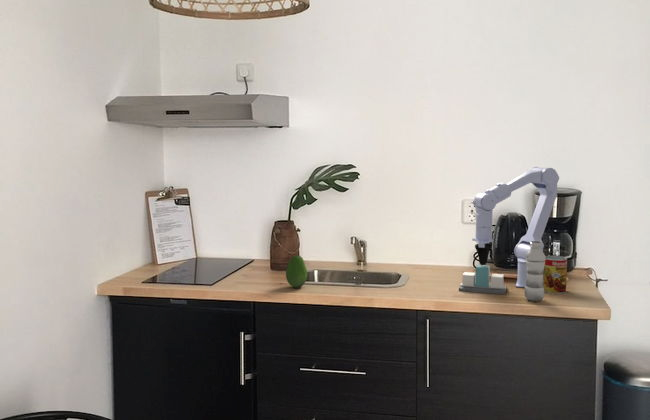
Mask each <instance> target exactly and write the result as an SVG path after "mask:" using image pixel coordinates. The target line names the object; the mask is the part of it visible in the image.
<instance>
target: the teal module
mask: <svg viewBox="0 0 650 420" xmlns="http://www.w3.org/2000/svg"><path fill="white" fill-rule="evenodd" d="M490 268H491V265H480V264H477V265H476V267H475V286H478V287H489V284H490V283H491V276H490V273H491V272H490V270H491V269H490Z"/></svg>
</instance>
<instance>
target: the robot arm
mask: <svg viewBox="0 0 650 420" xmlns="http://www.w3.org/2000/svg"><path fill="white" fill-rule="evenodd" d="M559 180H560V176H559V174H558V172H557V170H556V169H555V168H553V167H539V166H534V167H532V168H530V169H527V170H526V171H525V172H524V173H522V174H520V175H519V176H517V177H515V178H514V179H512V180H511V181H509V182H508V183H505V182H497V183H496V184H495V186H493V187H491V188H490V189H489V188H488V189H486V190H485V191H484V193H483V192H479V193H477V194H476V195H475V196H474V199H473V200H472V204H473V206H474V208H475V237H472V239H471V241H473V242H476V244H475V245H474V248H475V250H476V252H477V253H476V254H477V257H478V262H479V265H485V266H487V263H488V260H489V255H490V250H491V248H492V247H493V242H494V241H493V216H494V215H493V211H494V210H495V208H496V206H497V204H500V203H501V202H503V201H505V200H506V199H508V198H510V197H511V195H512V192H514V191H516V190H519V189H520V188H523V187H524V186H527V185H529V184H532V185H533V186H534V187H535V188H536V189H537V190H538V193H539V197H538V200H537V203H536V207H535V209H534V212H533V215H532V218H531V220H530V223H529V224H528V225H529V226H528V229H527V231H526V234H525V235H523V236H521V238H520V239H519V242H518V243H517V244H516V245H515V247H514V249H513V252H514V253H513V254H514V255H515V257H516V258H517V280H516V284H515V288H525V286H526V280H527V266H526V255H527V253H528V252H529V250H530V249H531V247H530V242H531V241H540V242H542V248H541V250H542V251H543V250H544V248H545V245H544V242H543V240H542V238H543V235H544V232H545V229H546V227H547V224H548V221H549V218H550V215H551V212H552V210H553V207H554V204H555V201H556V199H557V196H558V183H559ZM543 252H544V251H543Z"/></svg>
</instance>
